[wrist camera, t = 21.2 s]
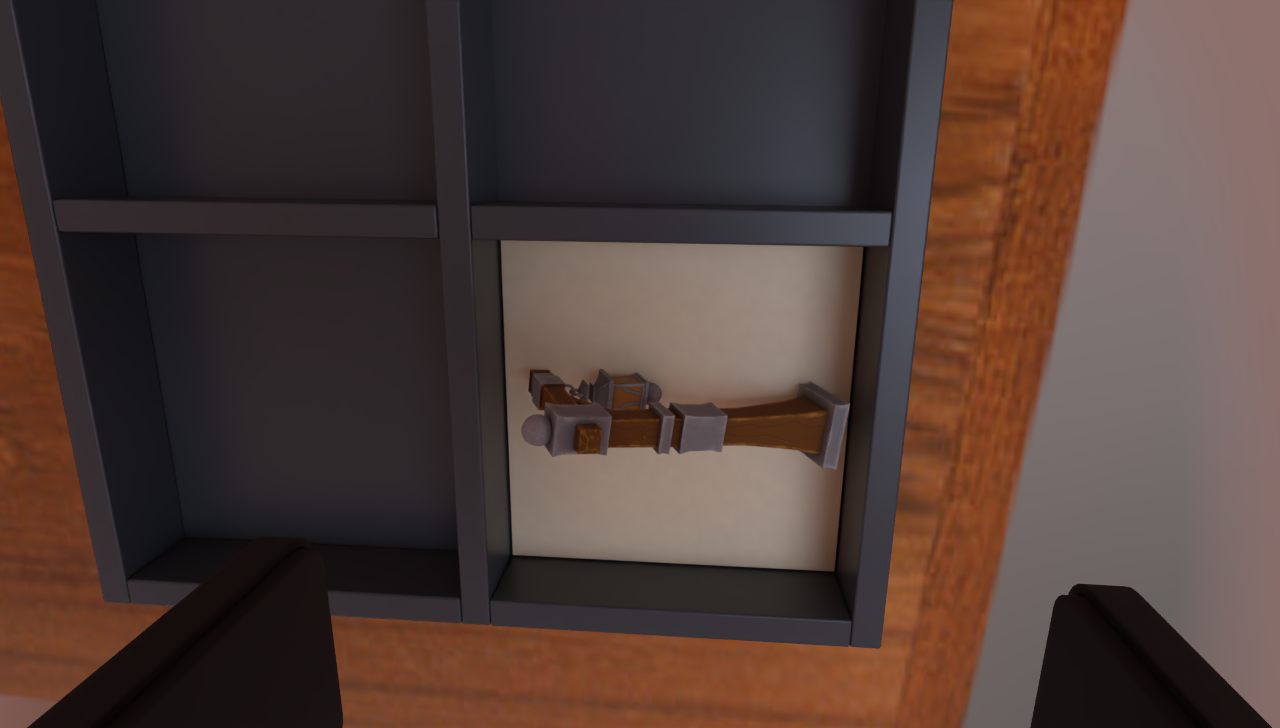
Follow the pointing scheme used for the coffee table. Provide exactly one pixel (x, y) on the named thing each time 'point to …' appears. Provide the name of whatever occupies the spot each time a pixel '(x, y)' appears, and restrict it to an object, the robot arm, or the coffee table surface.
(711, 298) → the grid
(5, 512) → the coffee table surface
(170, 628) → the robot arm
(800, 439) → the toy lamp post
